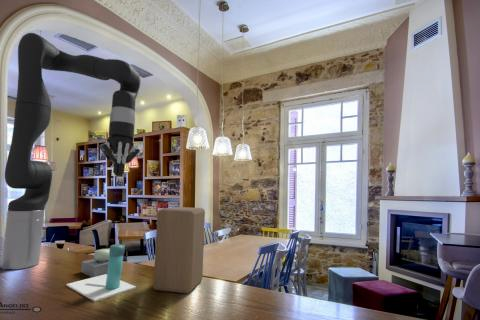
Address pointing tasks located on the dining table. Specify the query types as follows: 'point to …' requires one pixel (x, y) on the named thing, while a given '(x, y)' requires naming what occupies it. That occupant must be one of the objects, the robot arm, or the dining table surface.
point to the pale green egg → (101, 255)
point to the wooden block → (179, 249)
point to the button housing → (94, 267)
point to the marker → (114, 266)
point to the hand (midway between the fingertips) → (118, 175)
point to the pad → (98, 288)
